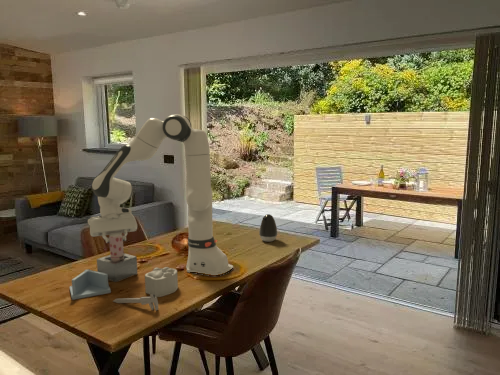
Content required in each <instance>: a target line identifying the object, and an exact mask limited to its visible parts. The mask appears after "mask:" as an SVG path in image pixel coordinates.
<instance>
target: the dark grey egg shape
mask: <svg viewBox="0 0 500 375" xmlns="http://www.w3.org/2000/svg"><path fill="white" fill-rule="evenodd" d="M258 235H259V237H260V239H261V240H262V241H263V242H269V243H270V242H273V241H276V240H277V237H278V228H277V223H276V220H275V218H274V217H273V215H272V214H265V215H264V216H263V217H262V220H261V223H260V226H259V234H258Z"/></svg>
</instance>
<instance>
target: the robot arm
mask: <svg viewBox="0 0 500 375" xmlns="http://www.w3.org/2000/svg"><path fill="white" fill-rule="evenodd" d="M166 138H168V139H170V140H173V141H176V142H179V143H180V142H181V143H183V146H184V158H185V161H184V162H185V192H186V193H185V196H186V203H187V206H188V218H187V219H188V220H187V222H188V223H187V224H188V225H187V226H188V237H187V246H188V254H187V255H188V256H187V261H186V265H185V269H186V272H187V273H190V272H198V273H205V274H211V275H218V274H222V273H225V272H227V271H229V270H230V269H232V268H233V269H234V265H232V264H230V263H229V260H228V259H229V258H228V256H227V254H226V253H224V252H223V251H222V249H221V248H219V247H218V246H217V243H218V239H215V238H214V236H213V232H214V231H213V191H212V183H211V182H212V180H211V177H212V176H211V175H212V174H211V170H212V169H211V154H210V153H211V152H210V144H209V140H208V139H209V137H208V134H207V133H206V132H205V130H202V129H199V128H193V127H192V123H191V121H190V119H189V118H188V117H186V116H185V115H182V114H179V113H176V114H171V115H168V116H167V117H165V119H164V120H161V119H160V118H157V117H150V118H148V119H147V120H146V121H145V122H144V123H143V125H142V126H141V128H140V129H139V131H138V132H137V134H136V135H135V137H134V138H133V139H132V140H131V141H130V142H129V143H128V144H125V145H123V146H121V147H120V148H119V149H118V150H117V152H116V153H115V154H114V156H112V158H111V159H110V160H109V162H108V163H107V164H106V166H105V167H104V168H103V169H102V170H101V172H100V173H99V174H97V175H96V177H94V179H93V180H92V183H91V190H92V192H93V194H94V195H95V196H96V197H97V201H98V205H99V213H100V215H98V216H92V217H90V218H88V219H87V224H88V226H89V234H90V235H89V236H91V237H94V238H95V237H102V239H103V240H104V241H105V243H106V244H110V240H109V237H107V236H109V235H110V234H112V233H122V234H123V235H122V236H123V242H124V241H125V242H127V235H128V233H130V232H132V233H133V232H136V231H137V230H138V223H137V220H136V217H135V216H134V215H133V214H132V209H131V208H127V207H122V206H121V205H122V204H123V205H124V204H125V203H126V202H127V201H129V200H130V199H131V198H132V196H133V193H134V189H133V185H132V184H131V182H130V181H127V180H124V179H120V178H118V177H117V178H116V177H115V176H116V175H117V174H118V173H119V171H120V170H121V169H122V167H123V166H124V165H125V164H127V163H130V162H136V161H138V162H141V161H147V160H149V159H152V158H153V157H154V156H155V154H156V153H157V151H158V150H159V149H160V147H161V144H162V143H163V141H164V140H165V139H166ZM233 269H232V270H233Z"/></svg>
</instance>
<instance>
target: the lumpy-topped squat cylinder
mask: <svg viewBox="0 0 500 375" xmlns="http://www.w3.org/2000/svg"><path fill="white" fill-rule="evenodd" d="M178 281H179V280H178V270H177V269H175V268H174V267H169V266H165V267H163V268H162V267H161V268H160V267H154V268H153V270H152V271H149V272H147V273H145V274H144V286H145V287H144V289H145V293H146V294H147V295H149V296H150V295H151V294H152V295H154V294H155V297H157V298H160V297H165V296H168V295H170V294H173V293H175V292H177V290H178V288H179V287H178V286H179V284H178V283H179V282H178Z"/></svg>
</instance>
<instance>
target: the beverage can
mask: <svg viewBox="0 0 500 375" xmlns="http://www.w3.org/2000/svg"><path fill="white" fill-rule="evenodd" d="M123 236H124V235H123V233H112V234H110V235H108V238H109V240H110V243H109V252H110V254H109V255H110V256H111V261H114V262H117V261H119V260H122V259H124V241H123Z"/></svg>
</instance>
